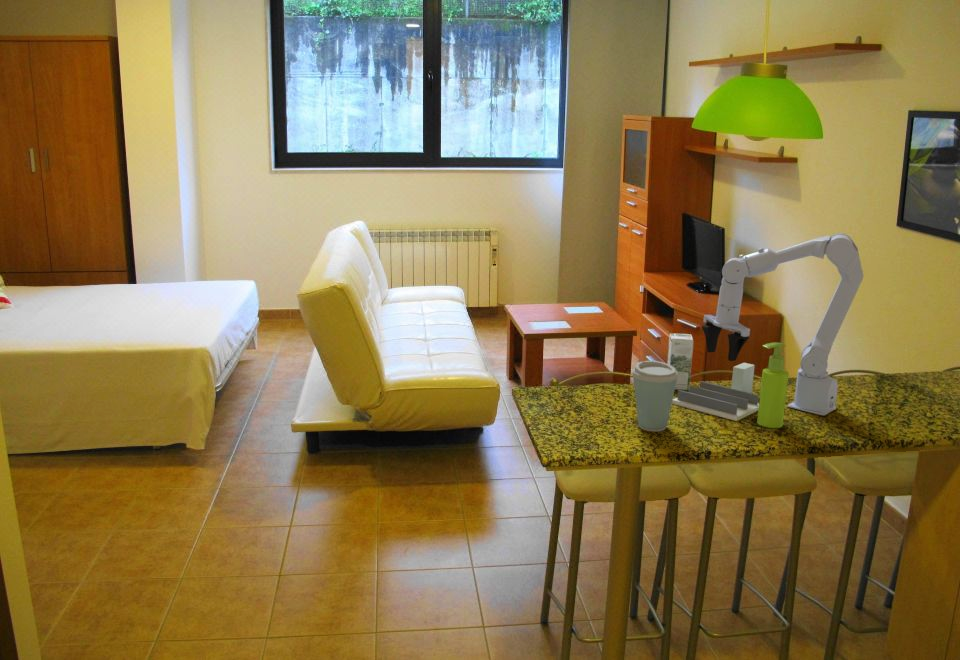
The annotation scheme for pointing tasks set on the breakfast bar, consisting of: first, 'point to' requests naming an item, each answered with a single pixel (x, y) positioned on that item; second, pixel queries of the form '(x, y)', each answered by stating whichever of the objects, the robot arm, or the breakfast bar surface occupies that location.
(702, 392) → the dish rack
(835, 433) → the breakfast bar surface
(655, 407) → the disposable coffee cup
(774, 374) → the soap dispenser
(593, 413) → the breakfast bar surface
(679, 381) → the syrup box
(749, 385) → the white rectangular block
